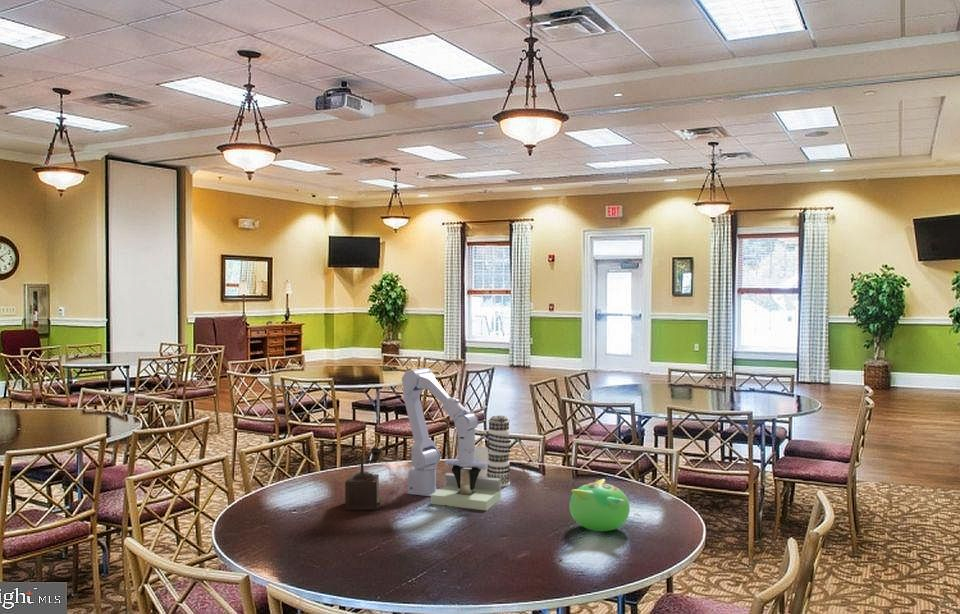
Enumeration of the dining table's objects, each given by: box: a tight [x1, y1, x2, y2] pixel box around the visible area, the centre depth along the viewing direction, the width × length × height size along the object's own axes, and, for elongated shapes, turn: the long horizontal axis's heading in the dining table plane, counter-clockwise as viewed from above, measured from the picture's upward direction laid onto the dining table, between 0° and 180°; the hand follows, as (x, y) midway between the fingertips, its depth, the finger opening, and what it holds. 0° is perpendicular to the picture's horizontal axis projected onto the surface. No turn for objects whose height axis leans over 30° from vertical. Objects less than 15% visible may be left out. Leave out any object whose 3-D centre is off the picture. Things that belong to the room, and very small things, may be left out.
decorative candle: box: [486, 415, 512, 488], centre depth 271 cm, size 9×9×25 cm
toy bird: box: [569, 478, 630, 532], centre depth 221 cm, size 18×17×15 cm
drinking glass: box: [471, 445, 489, 477], centre depth 263 cm, size 7×7×15 cm
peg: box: [460, 467, 472, 496], centre depth 249 cm, size 4×4×10 cm
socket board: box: [430, 472, 502, 511], centre depth 249 cm, size 20×14×7 cm
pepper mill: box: [344, 446, 383, 512], centre depth 246 cm, size 16×11×18 cm
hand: (466, 488), depth 249 cm, fingers closed on peg, 4 cm apart
